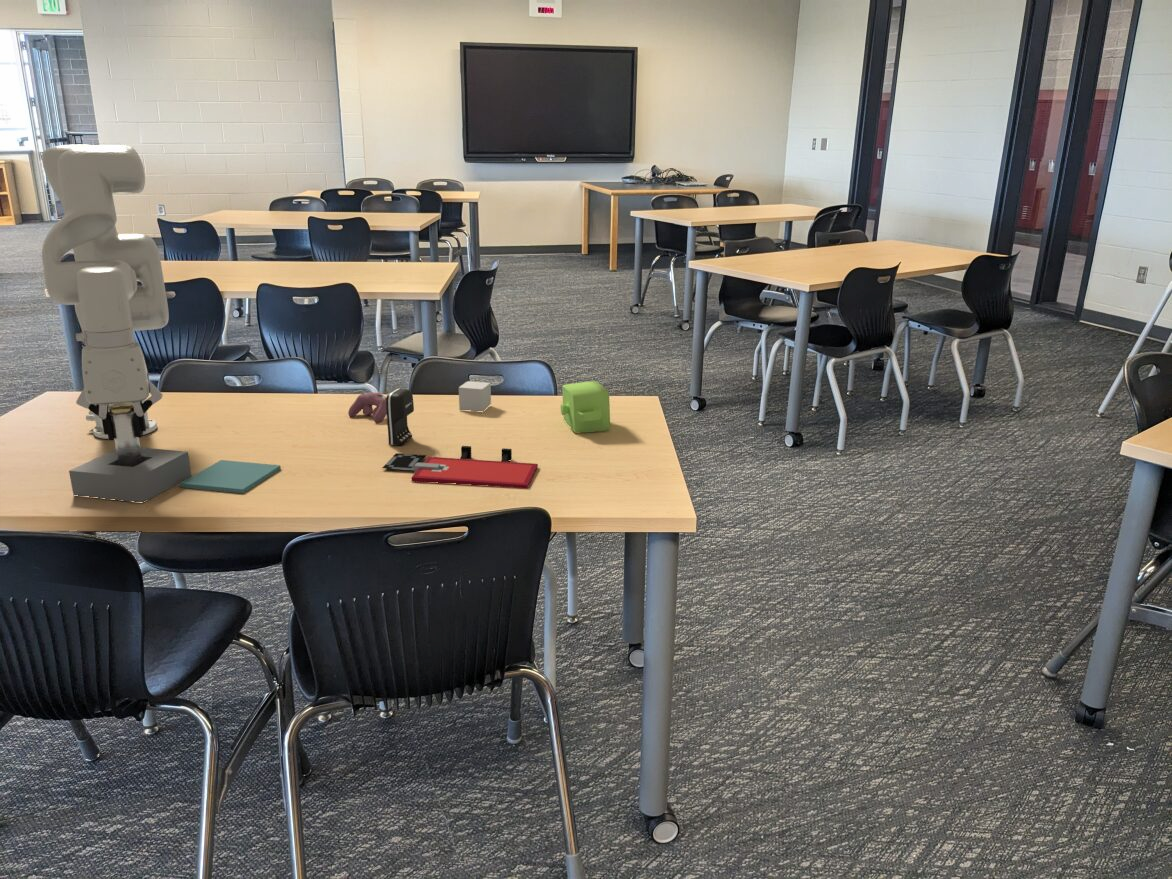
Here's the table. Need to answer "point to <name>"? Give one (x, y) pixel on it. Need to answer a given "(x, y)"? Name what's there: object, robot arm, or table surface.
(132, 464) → the peg
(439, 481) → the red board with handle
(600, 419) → the gearbox
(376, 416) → the video game controller
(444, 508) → the table surface
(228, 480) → the mat
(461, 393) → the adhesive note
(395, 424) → the battery charger
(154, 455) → the block
